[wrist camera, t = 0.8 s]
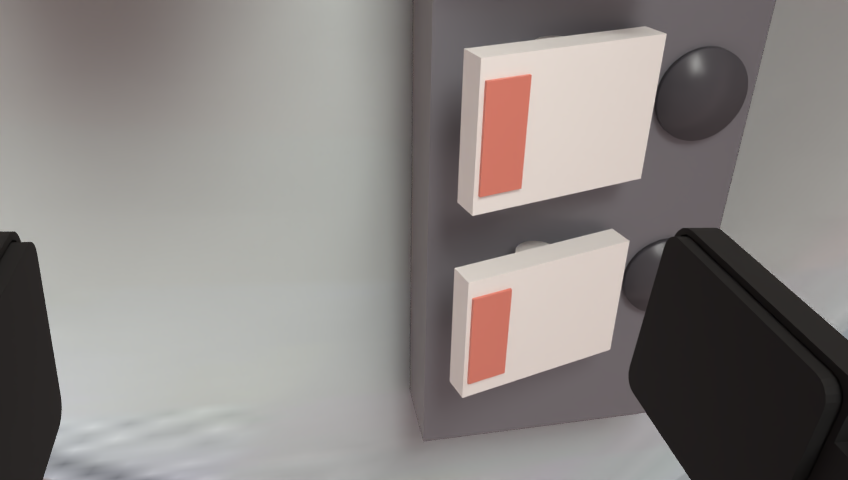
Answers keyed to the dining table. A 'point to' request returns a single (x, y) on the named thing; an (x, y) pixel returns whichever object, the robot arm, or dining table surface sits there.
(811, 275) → the dining table surface
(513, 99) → the rocker middle
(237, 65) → the dining table surface
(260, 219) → the dining table surface
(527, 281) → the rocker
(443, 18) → the grey switch panel
